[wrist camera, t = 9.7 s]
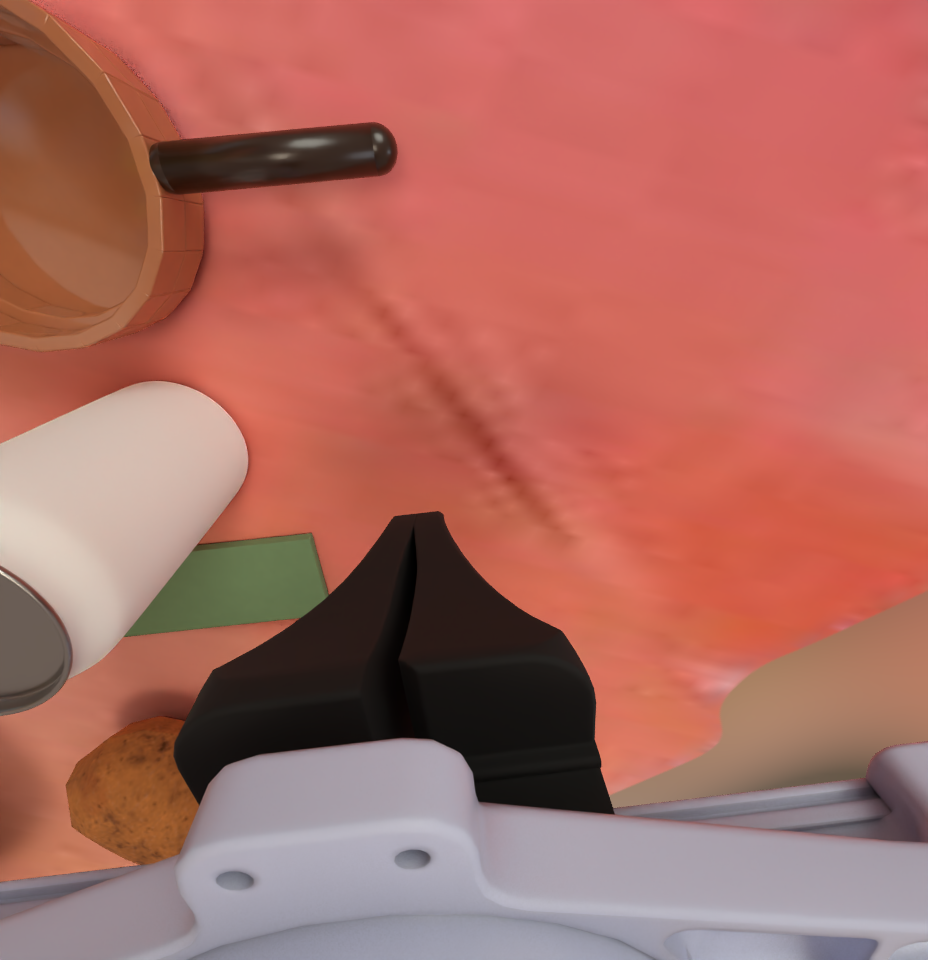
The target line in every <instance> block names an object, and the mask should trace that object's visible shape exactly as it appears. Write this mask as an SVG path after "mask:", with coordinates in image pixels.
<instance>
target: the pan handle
mask: <svg viewBox="0 0 928 960" xmlns="http://www.w3.org/2000/svg"><path fill="white" fill-rule="evenodd" d="M397 154H398V151H397V144H396V141H395V138H394V136H393V135H392V133H391V132H390V131H389V129H388V128H386V127H385V126H384V125H382V124H379V123H376V122H369V123H358V124H347V125H337V126H326V127H315V128H304V129H293V130H282V131H271V132H260V133H249V134H238V135H227V136H216V137H205V138H194V139H183V140H172V141H161V142H157V143H155V144H153V145H152V146H151V147H150V150H149V163H150V167H151V169H152V172H153V173H154V175H155V177H156V178H157V180H158V181H159V183H160V185H161V186H162V187H163V188H164V189H165V190H166V191H167V192H169V193H171V194H179V195H182V194H193V193H203V192H214V191H225V190H236V189H246V188H257V187H268V186H279V185H289V184H300V183H311V182H321V181H332V180H343V179H354V178H364V177H375V176H382V175H385V174H387V173H388V172H390V171H391V170H392V168H393V167H394V165H395V163H396V160H397Z"/></svg>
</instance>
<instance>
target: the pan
mask: <svg viewBox="0 0 928 960" xmlns="http://www.w3.org/2000/svg"><path fill="white" fill-rule="evenodd" d="M172 140H181V138H180V136H179V135H178V133H177V131H176V129H175V128H174V126H173V124H172V122H171V121H170V119H169V117H168V115H167V114H166V112H165V110H164V108H163V107H162V105H161V104H160V103H159V100H158V99H157V98H156V97H155V96H154V95H153V94H152V92H151V91H150V90H149V89H148V88H147V87H146V86H145V85H144V84H143V83H142V82H141V81H140V80H139V79H138V77H137V76H136V75H135V74H134V73H133V72H132V71H131V70H130V69H129V68H128V67H127V66H126V65H125V64H124V62H123V61H122V60H121V59H120V58H119V57H118V56H116V55H115V54H114V53H113V52H111V51H110V50H108V49H107V48H105V47H104V46H102V45H101V44H99V43H97V42H96V41H94V40H93V39H91V38H90V37H88V36H87V35H85V34H84V33H82V32H81V31H79V30H77V29H76V28H74V27H73V26H71V25H70V24H68V23H67V22H65V21H64V20H62V19H60V18H59V17H57V16H55V15H54V14H52V13H51V12H49V11H47V10H46V9H44V8H42V7H41V6H39V5H38V4H36V3H34V2H33V1H31V0H0V345H5V346H11V347H16V348H21V349H26V350H31V351H36V352H49V351H59V350H69V349H80V348H86V347H90V346H93V345H97V344H100V343H103V342H107V341H110V340H113V339H117V338H120V337H124V336H127V335H131V334H134V333H137V332H139V331H141V330H143V329H145V328H147V327H149V326H151V325H153V324H155V323H157V322H159V321H161V320H163V319H165V318H166V317H168V316H169V315H170V313H171V312H172V311H173V310H174V309H175V308H176V307H177V305H178V304H179V303H180V302H181V301H182V300H183V298H184V297H185V296H186V295H187V294H188V293H189V291H190V288H191V287H192V285H193V282H194V279H195V276H196V273H197V270H198V267H199V264H200V261H201V258H202V255H203V249H204V207H203V204H204V203H203V199H202V196H201V193H193V194H182V195H179V194H171V193H169V192H167V191H166V190H165V189H164V188H163V187H162V186H161V185H160V183H159V181H158V180H157V178H156V177H155V175H154V173H153V172H152V169H151V167H150V163H149V150H150V147H151V146H152V145H153V144H155V143H157V142H161V141H172Z"/></svg>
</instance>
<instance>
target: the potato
mask: <svg viewBox="0 0 928 960" xmlns="http://www.w3.org/2000/svg"><path fill="white" fill-rule="evenodd" d="M184 723H185V721H182V720H178V719H174V718H170V717H161V716H159V717H154V718H150V719H146V720H142V721H138V722H134V723H131V724H129V725H128V726H126V727H125V728H123V729H122V730H120V731H119V732H117V733H116V734H114V735H113V736H111V737H110V738H109V739H107V740H106V741H105V742H103V743H102V744H101V745H99V746H98V747H97V748H96V749H94V750H93V751H92V752H90V753H89V754H88V755H87V756H85V757H84V758H83V759H81V760H80V761H79V762H78V763H77V764H76V766H75V768H74V770H73V772H72V774H71V776H70V778H69V780H68V782H67V784H66V790H67V797H68V803H69V810H70V817H71V824H72V827H73V828H74V829H76V830H77V831H78V832H80V833H81V834H82V835H84V836H85V837H87V838H89V839H90V840H92V841H94V842H95V843H97V844H99V845H100V846H102V847H104V848H106V849H107V850H109V851H111V852H113V853H115V854H117V855H119V856H120V857H122V858H124V859H126V860H129V861H132V862H134V863H137V864H140V865H145V864H153V863H156V862H159V861H162V860H164V859H167V858H170V857H173V856H175V855H178V854H180V851H181V849H182V847H183V844H184V842H185V839H186V837H187V835H188V832H189V830H190V827H191V825H192V823H193V820H194V818H195V815H196V813H197V811H198V808H199V804H198V803H197V801H196V799H195V798H194V796H193V794H192V792H191V791H190V789H189V787H188V786H187V784H186V782H185V780H184V779H183V777H182V775H181V774H180V772H179V770H178V768H177V765H176V762H175V759H174V757H173V754H174V742H175V740H176V738H177V736H178V734H179V732H180V730H181V728H182V726H183V724H184Z"/></svg>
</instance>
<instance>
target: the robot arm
mask: <svg viewBox="0 0 928 960" xmlns="http://www.w3.org/2000/svg"><path fill="white" fill-rule="evenodd" d="M595 715H596V699H595V692H594V688H593V685H592V682H591V680H590V677H589V675H588V673H587V671H586V669H585V667H584V665H583V664H582V662H581V660H580V658H579V656H578V655H577V653H576V651H575V650H574V648H573V647H572V645H571V644H570V642H569V641H568V639H567V638H566V636H565V635H564V633H563V632H562V631H561V630H559V629H557V628H555V627H553V626H551V625H549V624H547V623H545V622H543V621H541V620H539V619H537V618H535V617H533V616H531V615H529V614H528V613H526V612H524V611H523V610H521V609H519V608H518V607H517V606H515V605H514V604H513V603H511V602H510V601H509V600H507V599H506V598H505V597H503V596H502V595H501V594H499V593H498V592H497V591H496V590H495V589H494V588H493V587H492V586H491V585H489V584H488V583H487V582H486V581H485V580H484V579H483V578H482V577H481V576H480V574H479V573H478V572H477V571H476V570H475V569H474V568H473V566H472V565H471V564H470V563H469V561H468V560H467V559H466V558H465V556H464V555H463V553H462V552H461V551H460V549H459V548H458V546H457V544H456V543H455V541H454V540H453V538H452V536H451V534H450V532H449V530H448V528H447V526H446V524H445V521H444V515H443V514H442V513H441V512H439V511H436V512H427V513H418V514H410V515H401V516H394V517H393V519H392V520H391V521H390V523H389V524H388V526H387V527H386V529H385V530H384V531H383V533H382V534H381V536H380V537H379V539H378V540H377V541H376V543H375V544H374V546H373V547H372V548H371V549H370V551H369V552H368V553H367V555H366V556H365V557H364V559H363V560H362V561H361V562H360V563H359V565H358V566H357V567H356V568H355V569H354V570H353V571H352V573H351V574H350V575H349V576H348V577H347V578H346V579H345V581H344V582H343V583H342V584H340V585H339V586H338V587H337V588H336V589H335V590H334V591H333V592H332V593H331V594H330V595H329V596H328V597H327V598H325V599H324V600H323V601H322V602H321V603H319V604H318V605H317V606H316V607H314V608H313V609H312V610H311V611H309V612H308V613H307V614H305V615H304V616H303V617H302V618H300V619H299V620H298V621H296V622H295V623H294V624H292V625H291V626H289V627H288V628H286V629H285V630H283V631H282V632H280V633H279V634H277V635H276V636H274V637H272V638H271V639H269V640H268V641H266V642H264V643H263V644H261V645H259V646H258V647H256V648H254V649H253V650H251V651H249V652H247V653H245V654H243V655H241V656H239V657H238V658H236V659H234V660H232V661H230V662H228V663H226V664H224V665H223V666H221V667H219V668H216V669H214V670H213V671H212V673H211V674H210V676H209V678H208V679H207V681H206V683H205V684H204V686H203V688H202V689H201V691H200V693H199V695H198V697H197V699H196V701H195V703H194V705H193V707H192V709H191V711H190V713H189V715H188V717H187V719H186V721H185V723H184V724H183V726H182V728H181V730H180V732H179V734H178V736H177V738H176V740H175V742H174V754H173V757H174V759H175V762H176V765H177V768H178V770H179V772H180V774H181V775H182V777H183V779H184V780H185V782H186V784H187V786H188V787H189V789H190V791H191V792H192V794H193V796H194V798H195V799H196V801H197V803H198V804H199V808H198V811H197V813H196V815H195V818H194V820H193V823H192V825H191V827H190V830H189V832H188V835H187V837H186V839H185V842H184V844H183V847H182V849H181V851H180V854H178V855H175V856H173V857H170V858H167V859H164V860H162V861H159V862H156V863H153V864H145V865H137V866H129V867H120V868H112V869H104V870H95V871H87V872H79V873H70V874H62V875H54V876H45V877H37V878H29V879H20V880H12V881H4V882H0V960H928V741H925V742H917V743H909V744H900V745H894V746H890V747H886V748H884V749H883V750H881V751H879V752H877V753H876V754H875V755H874V756H873V758H872V759H871V761H870V763H869V765H868V769H867V773H866V778H860V779H853V780H844V781H835V782H827V783H819V784H811V785H802V786H794V787H786V788H778V789H769V790H761V791H753V792H744V793H736V794H727V795H719V796H711V797H703V798H695V799H686V800H677V801H669V802H661V803H653V804H645V805H637V806H628V807H619V808H613V807H612V804H611V801H610V797H609V794H608V791H607V788H606V785H605V782H604V779H603V776H602V773H601V769H600V768H601V758H600V755H599V752H598V749H597V745H596V742H595V739H594V738H595Z"/></svg>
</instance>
